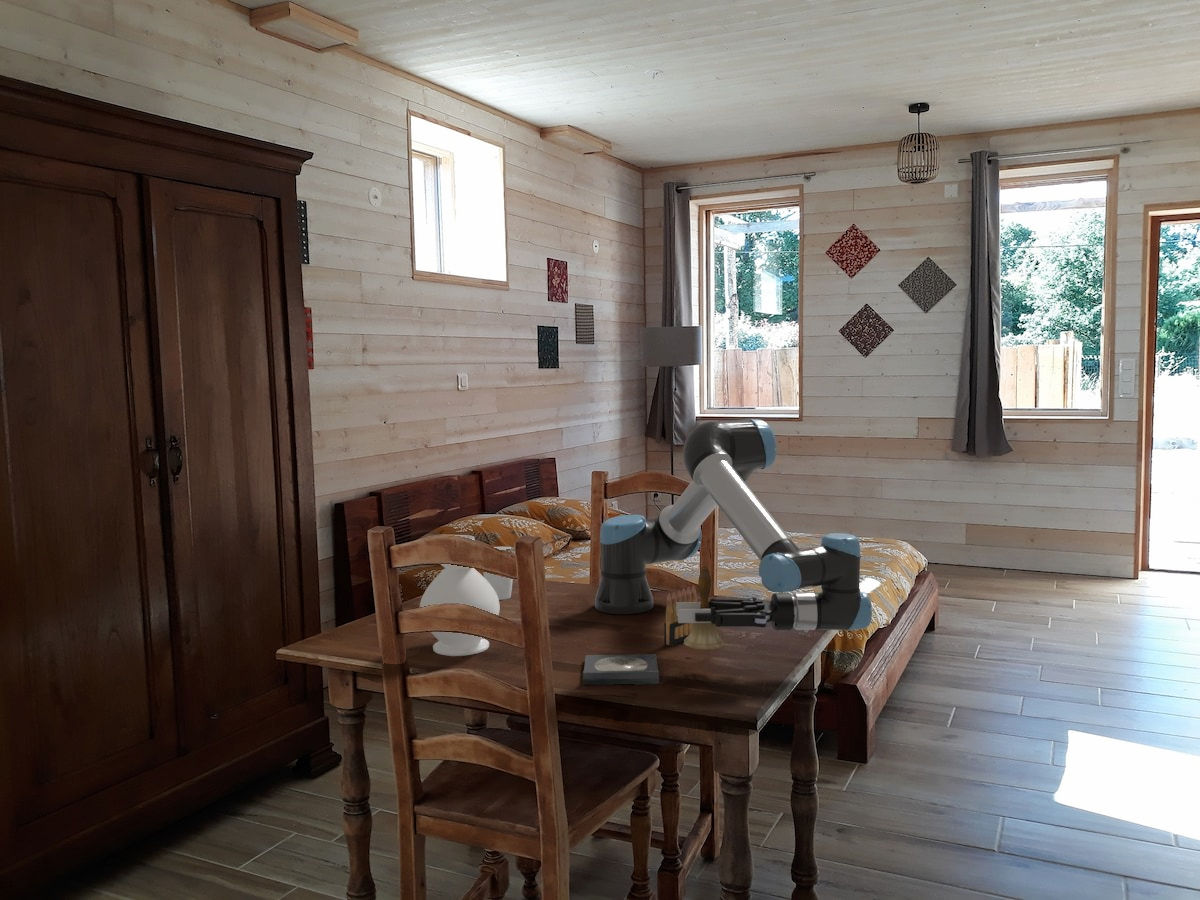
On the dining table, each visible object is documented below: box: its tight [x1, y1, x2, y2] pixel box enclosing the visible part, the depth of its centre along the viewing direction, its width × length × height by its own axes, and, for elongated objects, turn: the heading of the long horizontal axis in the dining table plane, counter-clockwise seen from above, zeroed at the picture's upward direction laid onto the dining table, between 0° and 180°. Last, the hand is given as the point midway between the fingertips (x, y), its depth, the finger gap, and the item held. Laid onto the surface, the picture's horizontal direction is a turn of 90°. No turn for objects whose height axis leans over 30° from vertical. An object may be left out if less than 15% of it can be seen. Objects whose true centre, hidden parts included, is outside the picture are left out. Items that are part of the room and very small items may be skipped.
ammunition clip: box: [663, 584, 698, 647], centre depth 211 cm, size 11×2×12 cm, turn 136°
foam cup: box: [482, 546, 514, 601], centre depth 253 cm, size 10×9×13 cm
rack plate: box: [582, 653, 660, 686], centre depth 191 cm, size 15×15×2 cm
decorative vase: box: [419, 534, 501, 657], centre depth 208 cm, size 18×18×25 cm
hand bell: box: [683, 566, 725, 651], centre depth 189 cm, size 8×8×16 cm
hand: (677, 612), depth 189 cm, fingers closed on hand bell, 4 cm apart
